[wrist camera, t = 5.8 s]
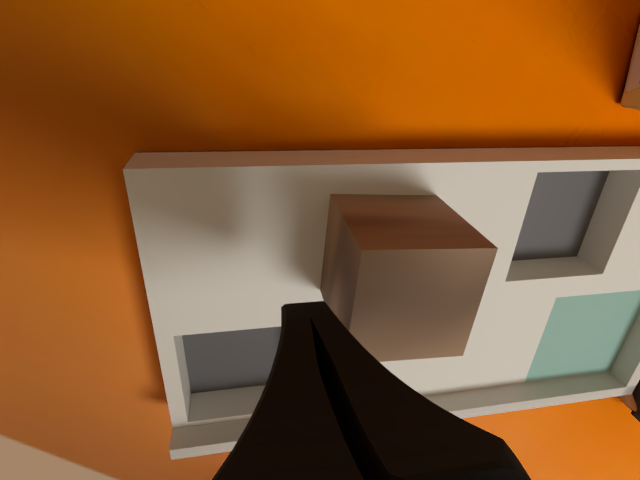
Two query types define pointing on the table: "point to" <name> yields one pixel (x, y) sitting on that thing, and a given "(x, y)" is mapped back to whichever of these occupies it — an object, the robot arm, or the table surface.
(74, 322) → the table surface
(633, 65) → the candy box
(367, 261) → the walnut block
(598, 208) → the tray
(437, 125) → the table surface
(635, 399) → the donut
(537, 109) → the table surface
